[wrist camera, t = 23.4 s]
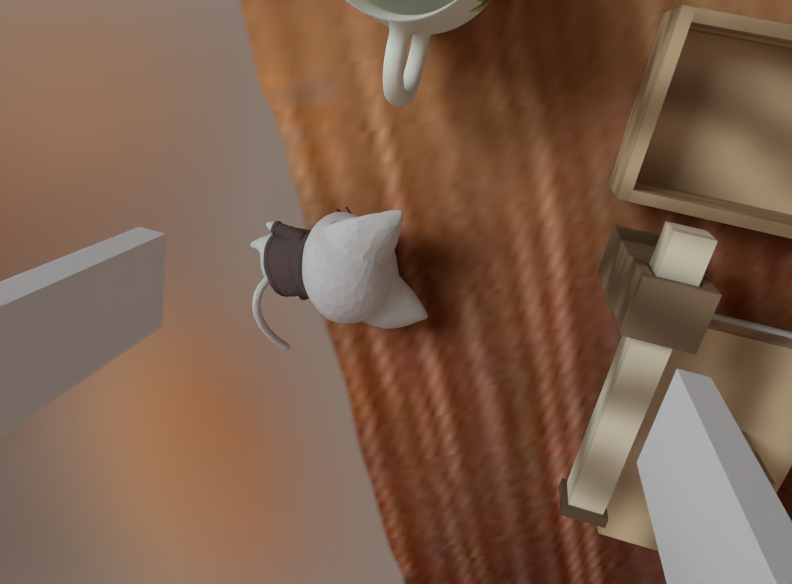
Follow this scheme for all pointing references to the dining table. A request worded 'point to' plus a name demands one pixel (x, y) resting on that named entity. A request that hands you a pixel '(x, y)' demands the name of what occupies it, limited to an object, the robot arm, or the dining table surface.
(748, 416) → the lid
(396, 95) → the pitcher
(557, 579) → the dining table surface
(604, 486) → the beige wooden bar
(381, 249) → the toy
